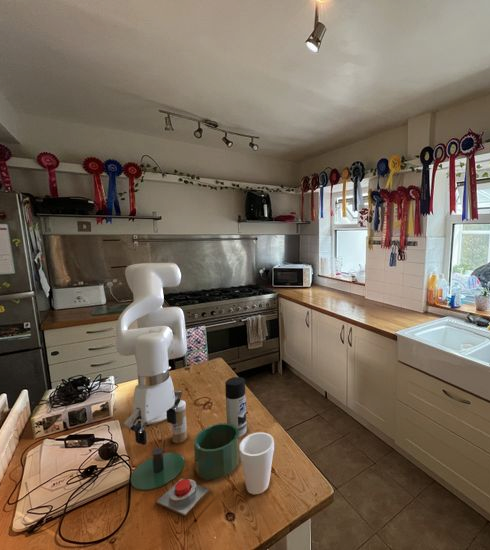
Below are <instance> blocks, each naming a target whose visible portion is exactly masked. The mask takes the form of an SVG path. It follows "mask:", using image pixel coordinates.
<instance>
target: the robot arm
mask: <svg viewBox="0 0 490 550" xmlns="http://www.w3.org/2000/svg"><path fill="white" fill-rule="evenodd" d="M124 275H125V279H126V282H127V285H128V287H129V289H130V291H131V292H132V296H133V301H132V302H131V303H129V305H128V306H126V307H125V309H124V310H123V311H122V312H121V314H120V315H119V316H118V318H117V321H116V326H115V348H116V350H117V353H118V354H119V355H120V356H123V357H128V356H129V357H130V356H134V357H135V362H136V372H137V382H138V383H137V385H135V387H134V391H133V399H132V413H131V415H130V416H129V417H128V418H127V419H126V420H125V421H124V422H123V425H124V426H125V427H126V428H127V430H129V431H133V432H134V435H135V443H137V444H139V445H142V446H145V445H147V441H148V440H147V439H148V438H147V431H146V426H151V425H153V424H157V423H160V422H163V421H165V420H166V422H167V423H169V424H171V425H172V424H176V410H177V409H178V407H177V406H178V404H179V403H180V400H181V398H182V396H183V392H182V391H179V390H175V388H174V383H173V380H172V377H171V376H170V371H172V366H171V365H169V360H174V359H179V358H182V357H184V356H185V355H186V354H187V352H188V341H187V329H186V320H185V314H184V311H183V310H182V309H181V307H179V306H167V307H163V304H164V302H165V299H164V289H163V288H172V287H175V288H176V287H178V286H179V285H180V284H181V281H182V273H181V269H180V268H179V266H178V265H177V264H176V263H175V262H144V263H134V264H130V265H128V266H126V268H125V272H124ZM135 321H136V323H137V328H131V329H129V327H130V325H131V324H132V323H134V322H135ZM134 422H135V423H134Z"/></svg>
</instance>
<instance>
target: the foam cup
mask: <svg viewBox="0 0 490 550" xmlns="http://www.w3.org/2000/svg"><path fill="white" fill-rule="evenodd" d="M274 451H275V440H274V437H273V436H272V435H271V433H267V432H264V431H262V432H261V431H260V432H252V433H251V434H248V435H247V436H245V437H243V439H242V440H241V441H240V442H239V459H240V461H241V467H242V472H243V477H244V483H245V489H246V491H247V493H249V494H251V495H259V494H262V493H264V492H265V491H266V490H267V489H268V488H269V485H270V481H271V473H272V467H273V464H272V463H273V457H274Z"/></svg>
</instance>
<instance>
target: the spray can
mask: <svg viewBox="0 0 490 550" xmlns="http://www.w3.org/2000/svg"><path fill="white" fill-rule="evenodd" d="M224 384H225V385H224V386H225V388H224V389H225V411H226V412H225V413H226V423H229V424H232V425H235V426H236V427H237V428H238V432H239V438H240V437H243V436H244V435H246V434H247V431H248V430H247V429H248V427H247V426H248V425H247V401H246V400H247V399H246V398H247V397H246V380H245V378H244V377H240V376H234V377H233V376H232V377H230V378H228V379H227V380H226V381H225V382H224Z"/></svg>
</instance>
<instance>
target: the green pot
mask: <svg viewBox="0 0 490 550" xmlns="http://www.w3.org/2000/svg"><path fill="white" fill-rule="evenodd" d="M193 440H194V441H193V443H194V444H193V448H194V450H193V452H194V471H195V474H196V475H197V476H198V477H199V478H201V479H204V480H217V479H219V478H223V477H225V476H227V475H228V474H230V473H232V472H233V471H234V470H235V469H236V467H237V466H238V464H239V462H240V437H239V432H238V428H237V427H236V426H235V425H232V424H229V423H227V422H219V423H215V424H212V425H209V426H207V427H204V428H203V429H202V430H200V431H199V432H198V433H197V434H196V436H195V437H194V439H193Z"/></svg>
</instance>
